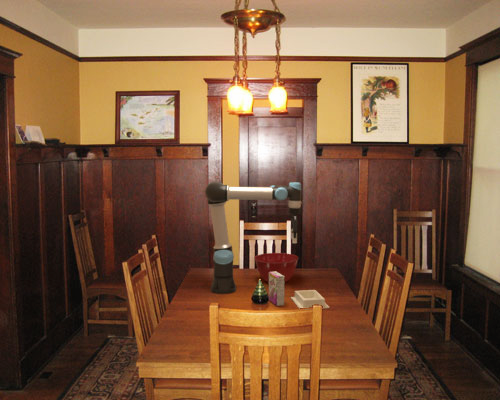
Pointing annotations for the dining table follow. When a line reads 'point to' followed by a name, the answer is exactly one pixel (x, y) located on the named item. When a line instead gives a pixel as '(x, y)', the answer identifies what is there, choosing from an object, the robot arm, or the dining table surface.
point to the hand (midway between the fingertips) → (293, 241)
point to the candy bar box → (276, 288)
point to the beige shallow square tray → (308, 299)
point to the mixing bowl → (276, 264)
